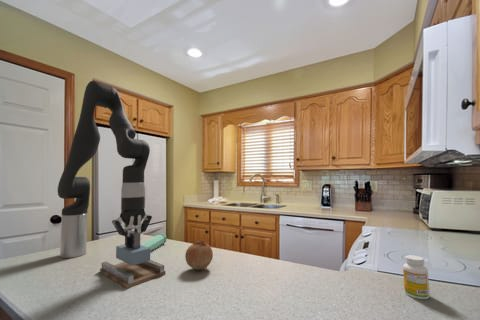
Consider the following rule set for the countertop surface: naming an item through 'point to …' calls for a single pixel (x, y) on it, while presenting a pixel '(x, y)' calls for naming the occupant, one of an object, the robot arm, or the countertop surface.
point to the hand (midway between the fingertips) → (132, 246)
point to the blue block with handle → (133, 251)
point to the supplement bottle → (416, 278)
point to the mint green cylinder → (155, 241)
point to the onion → (199, 255)
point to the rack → (132, 272)
